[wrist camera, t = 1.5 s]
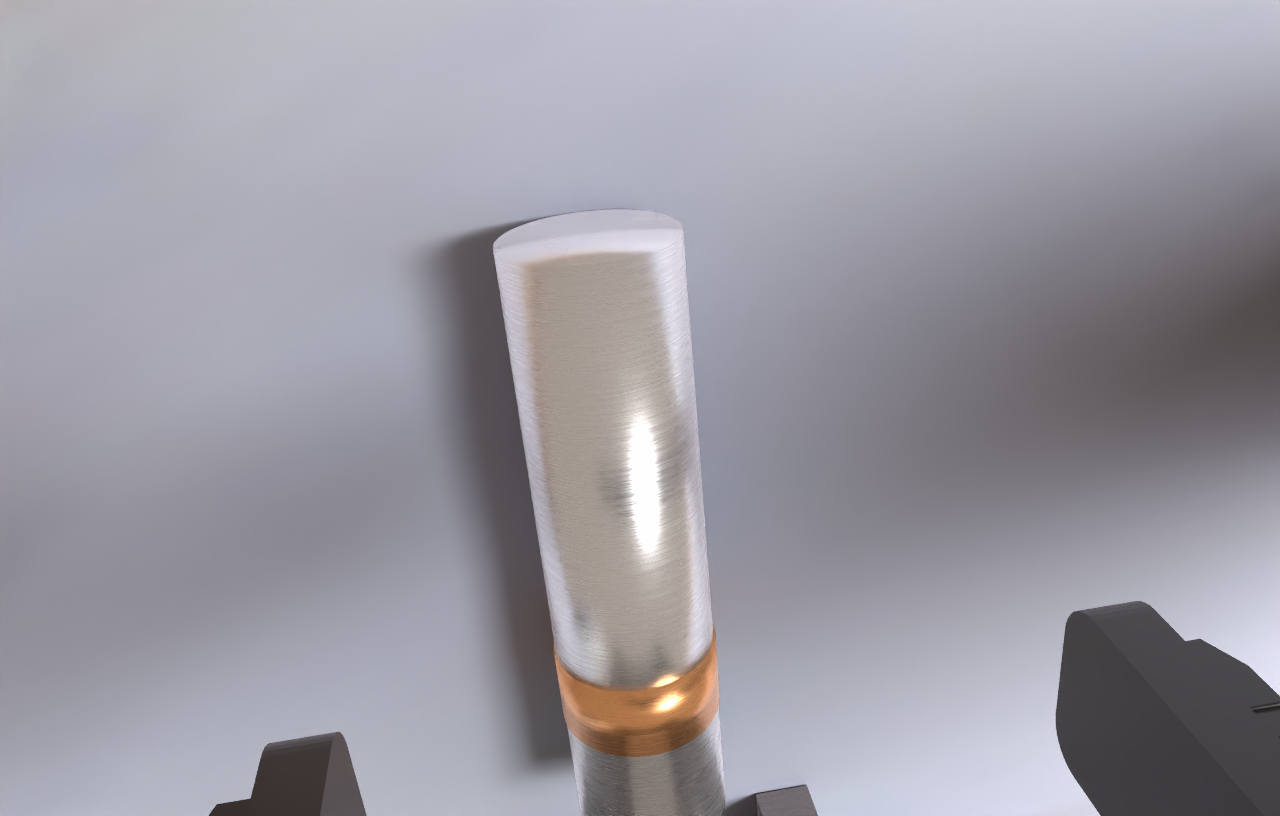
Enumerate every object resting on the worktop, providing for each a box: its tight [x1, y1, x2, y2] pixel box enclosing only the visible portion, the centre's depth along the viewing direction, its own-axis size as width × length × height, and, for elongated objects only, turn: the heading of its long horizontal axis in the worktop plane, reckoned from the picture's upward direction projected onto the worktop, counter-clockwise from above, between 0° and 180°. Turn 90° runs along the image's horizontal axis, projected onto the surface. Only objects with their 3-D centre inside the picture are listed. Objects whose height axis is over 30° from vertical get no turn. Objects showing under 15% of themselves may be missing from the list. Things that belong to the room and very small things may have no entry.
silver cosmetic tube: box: [493, 209, 725, 816], centre depth 26 cm, size 16×4×4 cm, turn 5°
